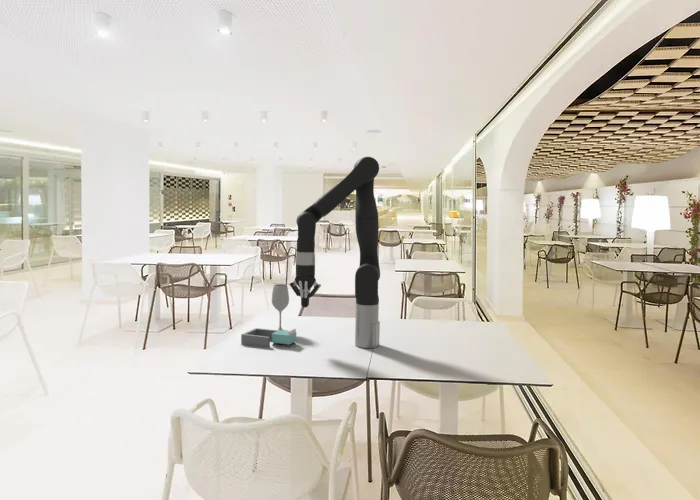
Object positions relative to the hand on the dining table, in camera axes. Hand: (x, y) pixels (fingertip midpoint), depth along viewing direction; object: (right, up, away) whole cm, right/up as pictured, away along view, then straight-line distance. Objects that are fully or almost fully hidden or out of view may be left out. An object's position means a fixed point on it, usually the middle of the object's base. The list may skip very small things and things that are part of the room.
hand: (304, 307), depth 191 cm
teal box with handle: (-9, -16, +4) cm, 19 cm away
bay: (-18, -15, +7) cm, 25 cm away
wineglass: (-13, -14, +25) cm, 31 cm away
